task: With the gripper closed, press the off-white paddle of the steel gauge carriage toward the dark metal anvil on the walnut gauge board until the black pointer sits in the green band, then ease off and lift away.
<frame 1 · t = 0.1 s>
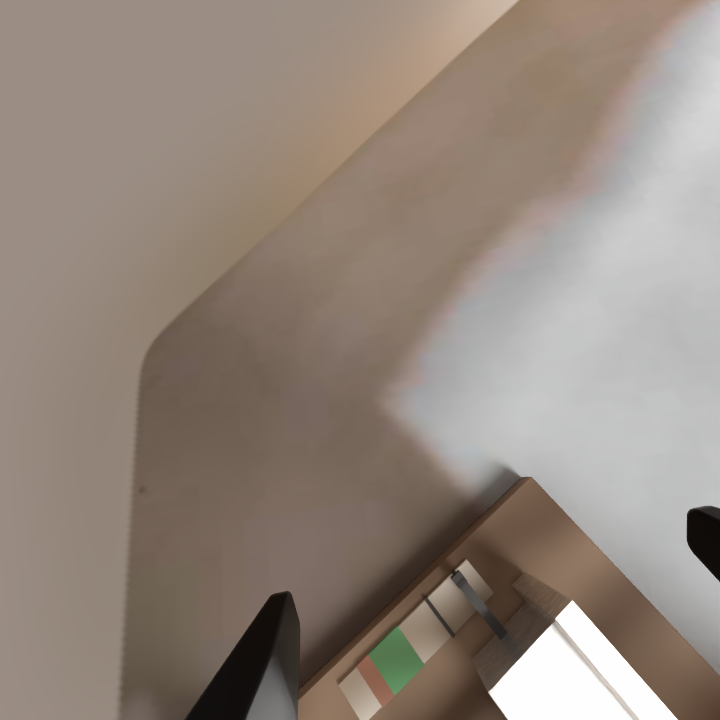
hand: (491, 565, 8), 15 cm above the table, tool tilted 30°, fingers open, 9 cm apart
gauge carriage: (513, 709, 15), point 4 cm above the table, slide at 0.0 cm
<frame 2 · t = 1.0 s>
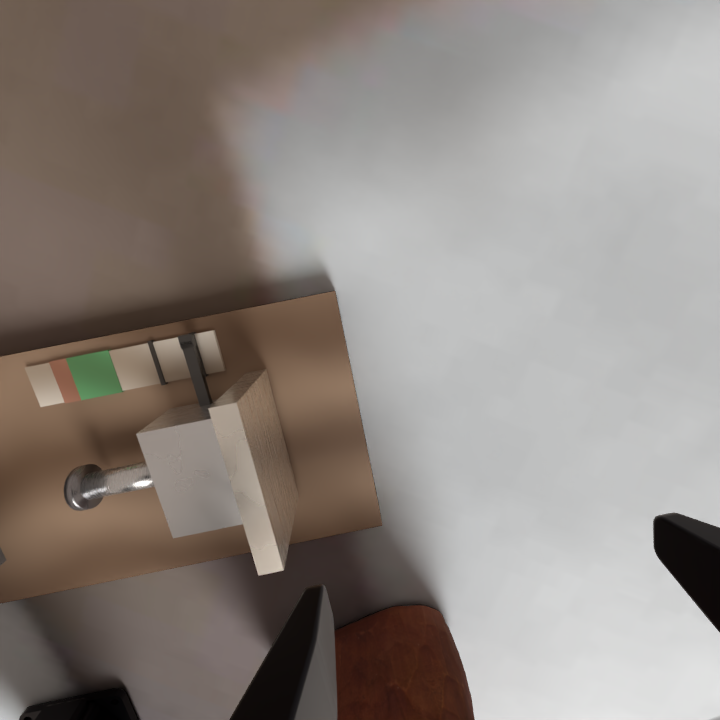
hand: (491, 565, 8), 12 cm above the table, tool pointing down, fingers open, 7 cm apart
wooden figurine: (368, 645, 23), on the table
gauge carriage: (161, 454, 15), point 4 cm above the table, slide at 0.0 cm
gauge base: (146, 450, 20), on the table
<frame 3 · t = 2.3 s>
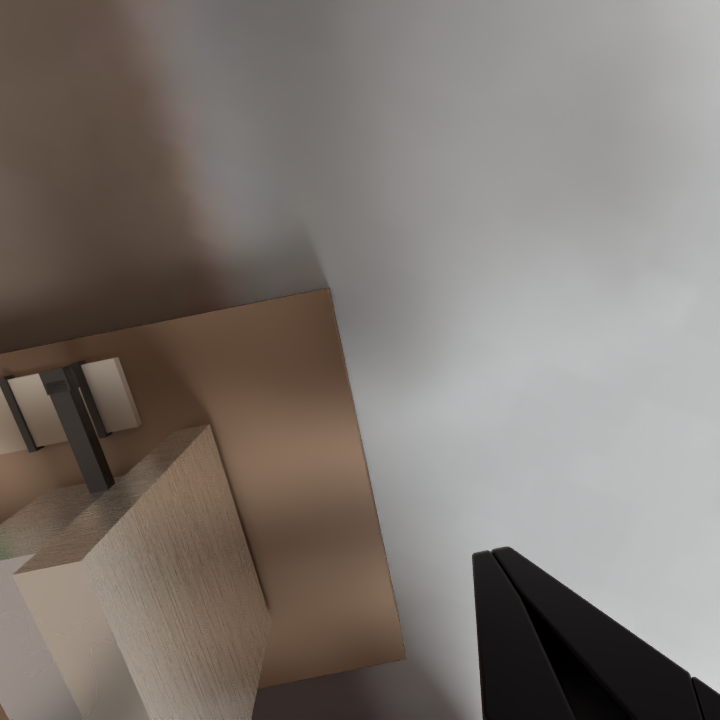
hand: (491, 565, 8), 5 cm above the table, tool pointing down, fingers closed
gauge base: (33, 540, 12), on the table
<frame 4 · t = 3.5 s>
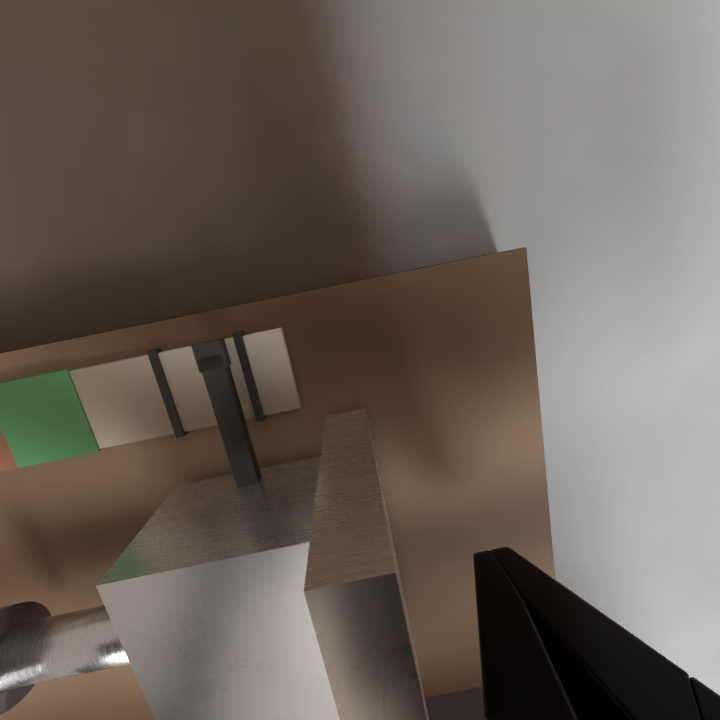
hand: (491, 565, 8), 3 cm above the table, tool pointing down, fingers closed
gauge carriage: (159, 615, 7), point 4 cm above the table, slide at 0.4 cm, touching gripper
gauge base: (147, 538, 11), on the table
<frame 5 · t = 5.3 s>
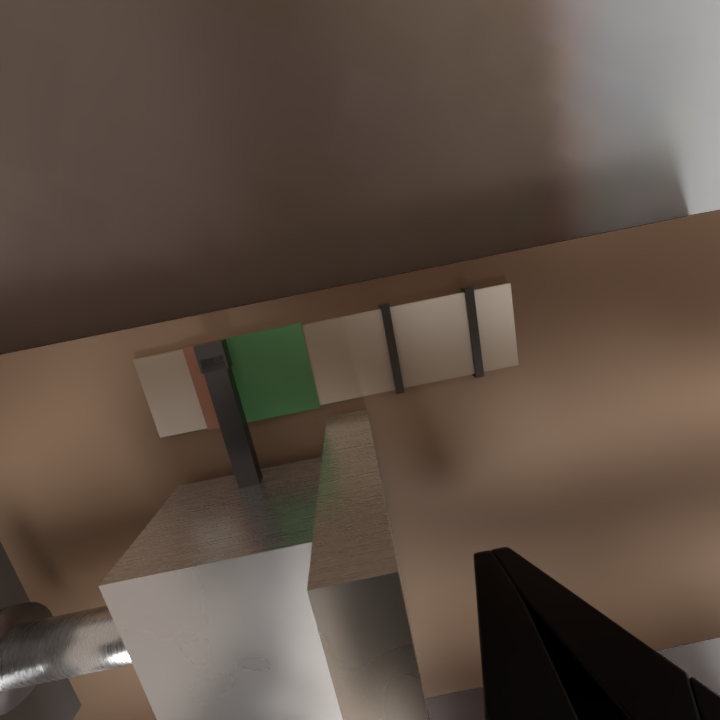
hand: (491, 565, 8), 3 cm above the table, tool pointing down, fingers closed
gauge carriage: (161, 615, 7), point 4 cm above the table, slide at 5.9 cm, touching gripper
gauge base: (318, 504, 11), on the table
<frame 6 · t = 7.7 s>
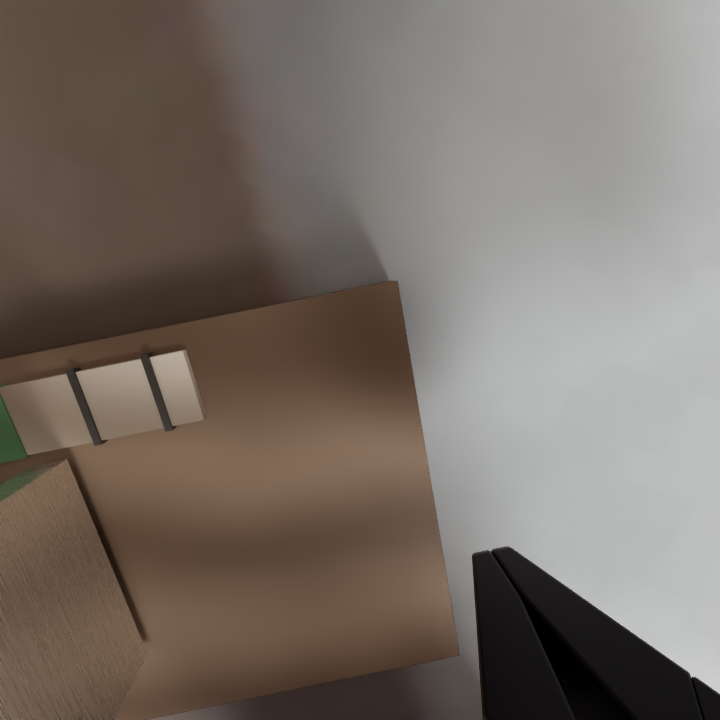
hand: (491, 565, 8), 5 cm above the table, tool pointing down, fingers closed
gauge base: (84, 535, 12), on the table
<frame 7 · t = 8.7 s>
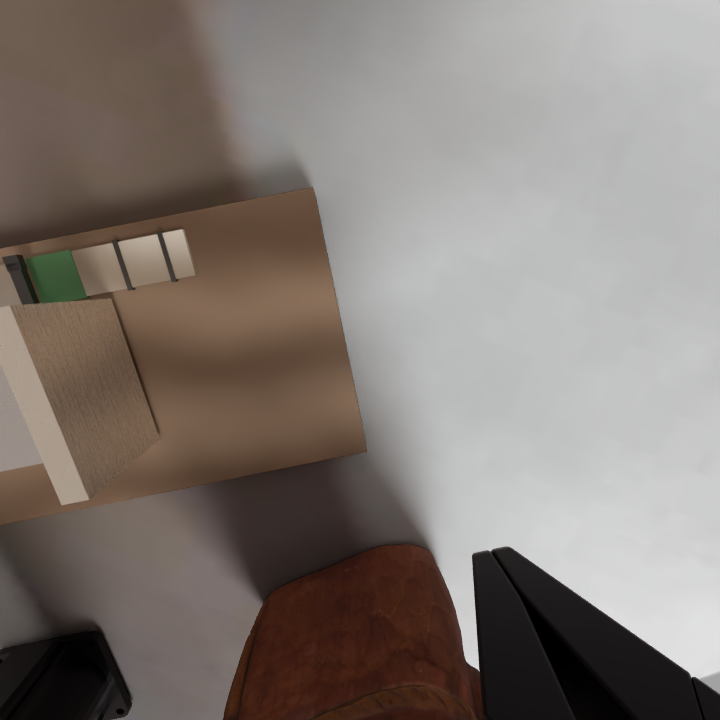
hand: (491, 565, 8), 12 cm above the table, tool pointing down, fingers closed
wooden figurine: (355, 588, 22), on the table
gauge base: (116, 371, 18), on the table
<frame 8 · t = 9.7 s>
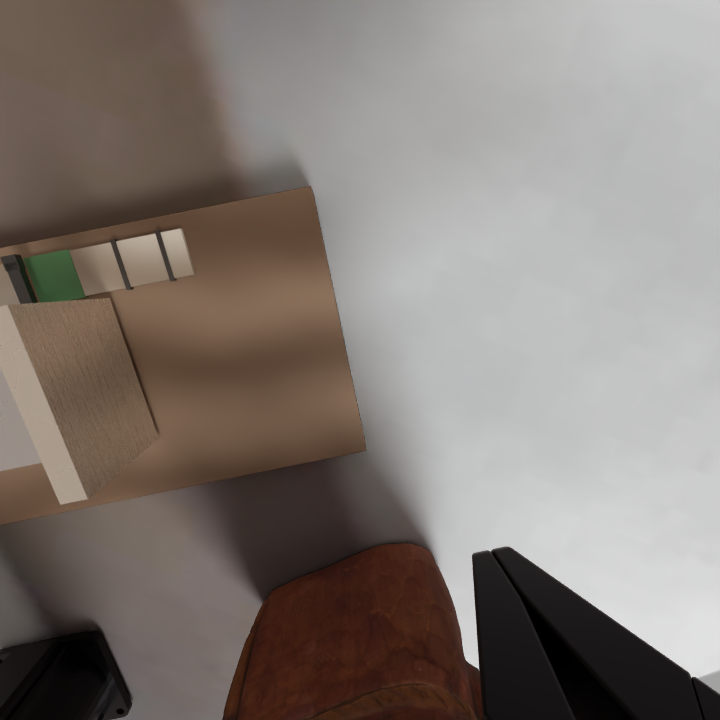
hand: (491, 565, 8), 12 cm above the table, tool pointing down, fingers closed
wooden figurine: (355, 588, 22), on the table
gauge base: (115, 371, 18), on the table
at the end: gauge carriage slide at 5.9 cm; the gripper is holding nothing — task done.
